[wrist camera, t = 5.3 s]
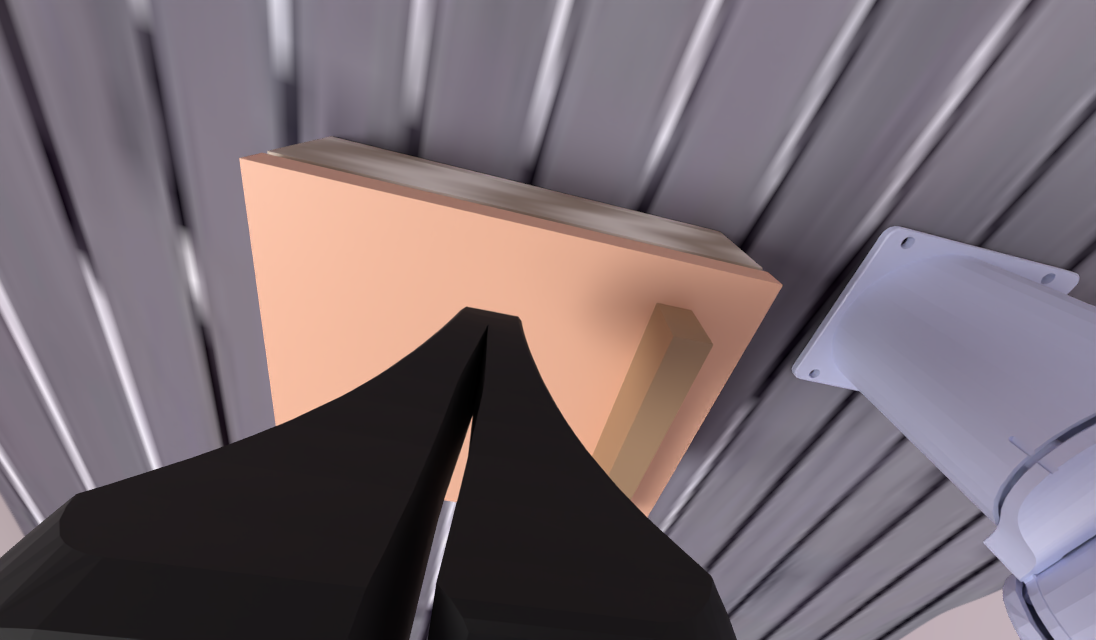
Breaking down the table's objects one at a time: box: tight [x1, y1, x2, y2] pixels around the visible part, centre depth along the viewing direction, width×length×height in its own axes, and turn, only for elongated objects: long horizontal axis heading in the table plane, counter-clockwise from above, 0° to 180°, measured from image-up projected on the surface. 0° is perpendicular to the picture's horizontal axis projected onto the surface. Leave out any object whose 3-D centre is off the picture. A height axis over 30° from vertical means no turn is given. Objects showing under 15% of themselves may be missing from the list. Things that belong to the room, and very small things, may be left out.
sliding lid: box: [239, 153, 783, 517], centre depth 14 cm, size 16×13×3 cm
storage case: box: [268, 136, 763, 271], centre depth 18 cm, size 16×13×4 cm
